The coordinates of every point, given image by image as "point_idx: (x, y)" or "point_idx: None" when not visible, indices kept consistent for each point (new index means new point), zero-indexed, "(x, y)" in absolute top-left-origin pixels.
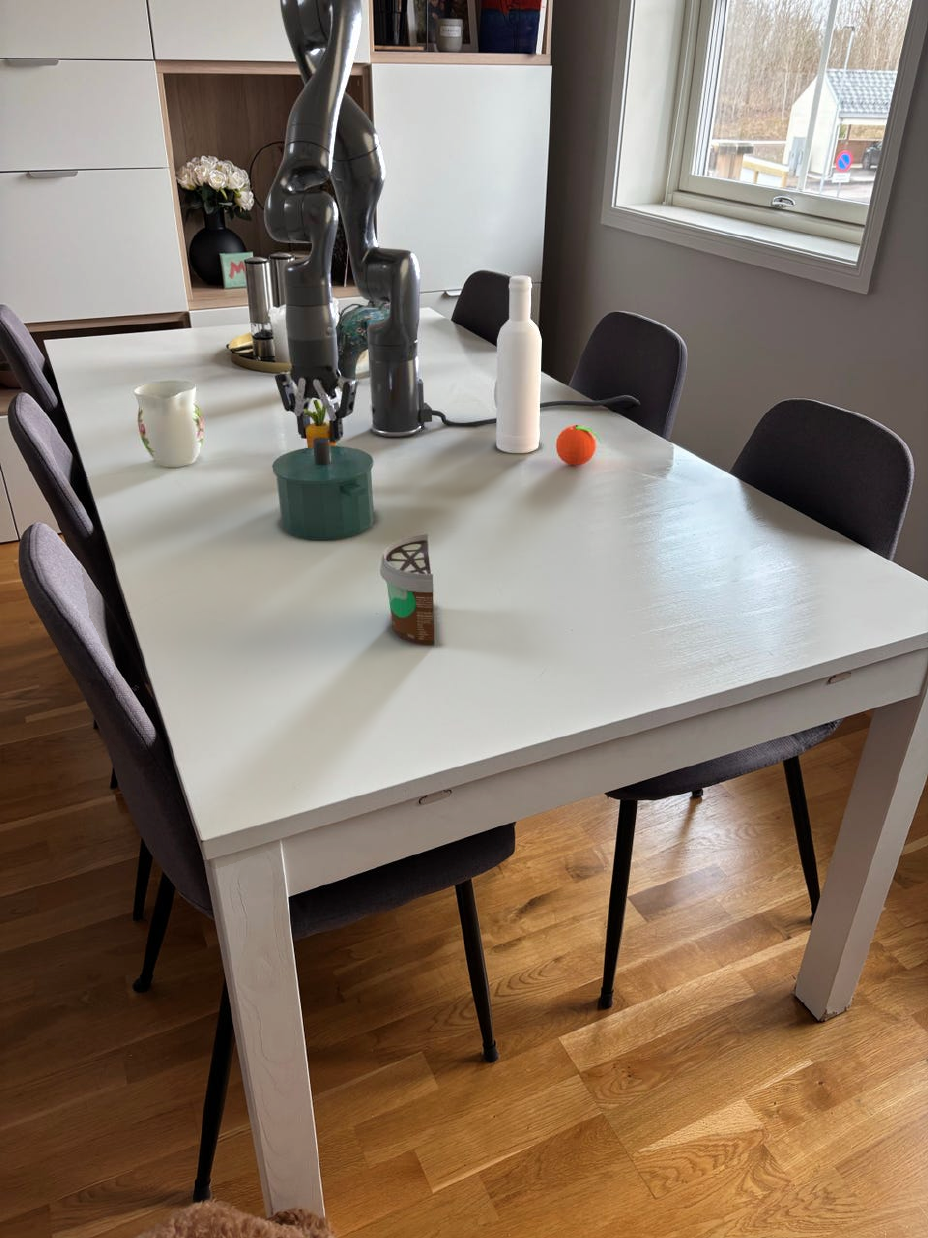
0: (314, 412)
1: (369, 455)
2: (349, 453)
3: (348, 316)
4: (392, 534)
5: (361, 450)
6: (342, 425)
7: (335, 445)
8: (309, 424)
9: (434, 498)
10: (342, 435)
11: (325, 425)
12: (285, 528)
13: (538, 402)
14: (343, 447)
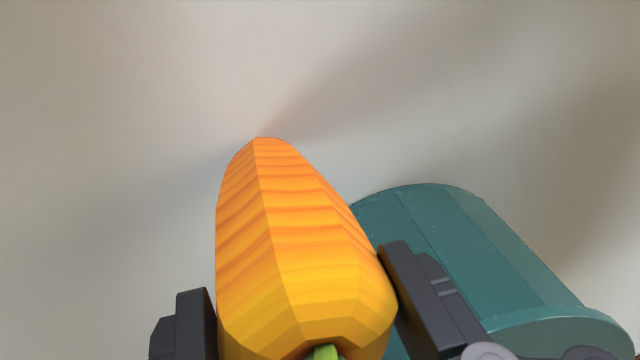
0: None
1: (616, 329)
2: (539, 356)
3: None
4: (555, 243)
5: (577, 318)
6: (466, 305)
7: (366, 237)
8: (209, 351)
9: (630, 7)
10: (433, 263)
11: (364, 353)
12: None
13: None
14: (496, 337)
